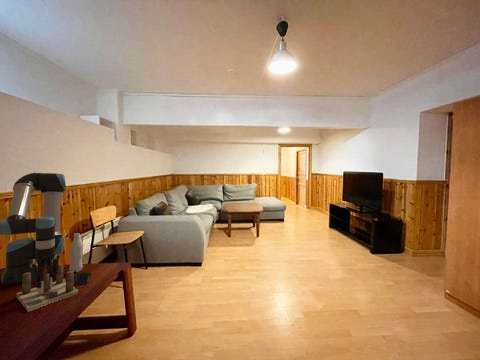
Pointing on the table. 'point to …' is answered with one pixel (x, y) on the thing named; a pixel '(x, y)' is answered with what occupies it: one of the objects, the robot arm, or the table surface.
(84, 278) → the phone
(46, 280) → the hinged leg
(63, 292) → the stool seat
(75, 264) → the water bottle
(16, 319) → the table surface
